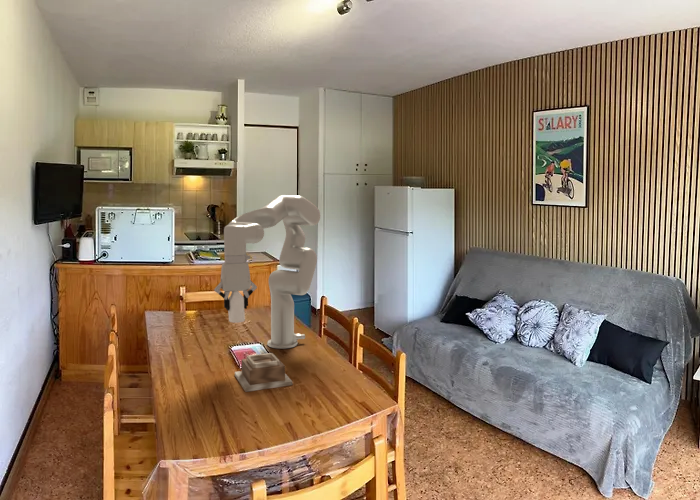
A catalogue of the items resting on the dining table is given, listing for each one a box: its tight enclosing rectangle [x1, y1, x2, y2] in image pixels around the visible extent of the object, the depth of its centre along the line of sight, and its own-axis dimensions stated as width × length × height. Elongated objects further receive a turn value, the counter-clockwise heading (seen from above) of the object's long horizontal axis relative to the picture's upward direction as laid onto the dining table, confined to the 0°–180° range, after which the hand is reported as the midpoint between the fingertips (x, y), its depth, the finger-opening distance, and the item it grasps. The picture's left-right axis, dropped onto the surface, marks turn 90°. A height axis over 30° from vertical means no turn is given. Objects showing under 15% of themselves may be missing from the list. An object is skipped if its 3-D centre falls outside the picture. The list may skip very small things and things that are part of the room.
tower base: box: [234, 352, 293, 393], centre depth 182 cm, size 16×16×8 cm
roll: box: [227, 291, 246, 324], centre depth 191 cm, size 6×12×6 cm
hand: (236, 308), depth 191 cm, fingers closed on roll, 5 cm apart
